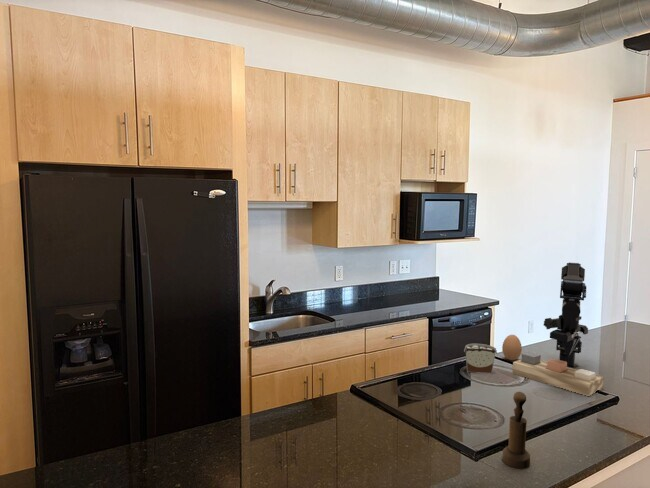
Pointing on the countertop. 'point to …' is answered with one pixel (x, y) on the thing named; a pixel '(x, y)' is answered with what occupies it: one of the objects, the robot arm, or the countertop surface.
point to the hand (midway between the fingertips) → (567, 355)
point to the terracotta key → (557, 365)
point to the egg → (512, 347)
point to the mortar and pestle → (517, 436)
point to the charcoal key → (531, 358)
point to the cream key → (585, 374)
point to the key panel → (557, 377)
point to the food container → (480, 358)
